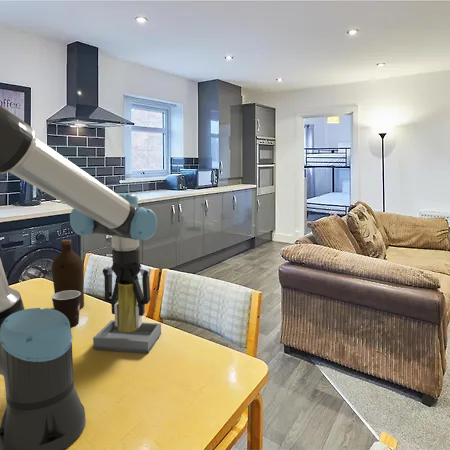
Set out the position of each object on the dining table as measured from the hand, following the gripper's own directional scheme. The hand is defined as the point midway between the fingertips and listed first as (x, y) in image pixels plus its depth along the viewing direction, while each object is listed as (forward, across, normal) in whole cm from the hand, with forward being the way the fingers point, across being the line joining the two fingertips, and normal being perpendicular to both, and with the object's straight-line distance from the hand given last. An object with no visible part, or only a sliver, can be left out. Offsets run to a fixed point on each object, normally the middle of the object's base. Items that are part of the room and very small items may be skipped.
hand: (128, 324), depth 109 cm
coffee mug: (+5, +24, -10) cm, 27 cm away
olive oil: (+5, +31, -22) cm, 38 cm away
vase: (+1, 0, 0) cm, 1 cm away
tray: (+5, 0, 0) cm, 5 cm away
